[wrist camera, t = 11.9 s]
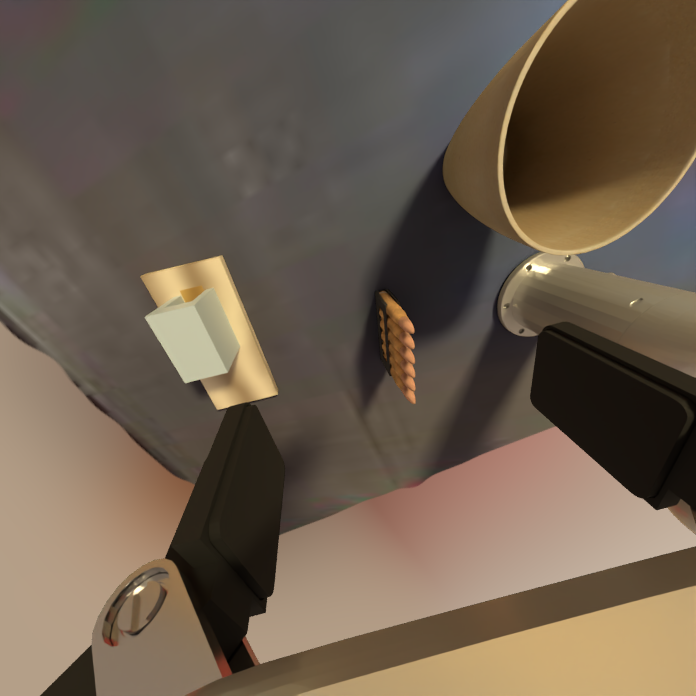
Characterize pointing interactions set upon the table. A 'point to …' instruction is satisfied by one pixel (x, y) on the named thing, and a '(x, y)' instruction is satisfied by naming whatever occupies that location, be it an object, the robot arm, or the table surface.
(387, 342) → the ammunition clip
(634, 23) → the plant pot
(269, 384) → the board
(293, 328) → the table surface
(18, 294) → the table surface
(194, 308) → the pale green notched block
